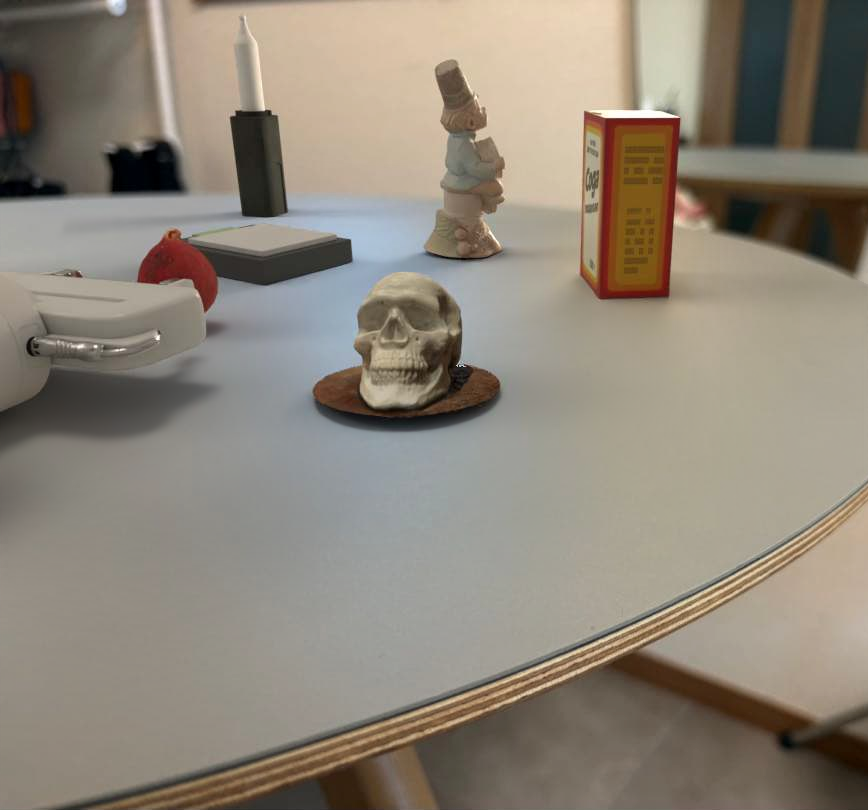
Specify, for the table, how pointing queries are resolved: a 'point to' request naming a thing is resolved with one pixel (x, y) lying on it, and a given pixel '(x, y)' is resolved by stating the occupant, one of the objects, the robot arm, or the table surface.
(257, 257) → the scale
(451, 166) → the figurine
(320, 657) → the table surface
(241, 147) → the candle
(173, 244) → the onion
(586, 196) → the baking soda box
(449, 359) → the skull
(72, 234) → the table surface
